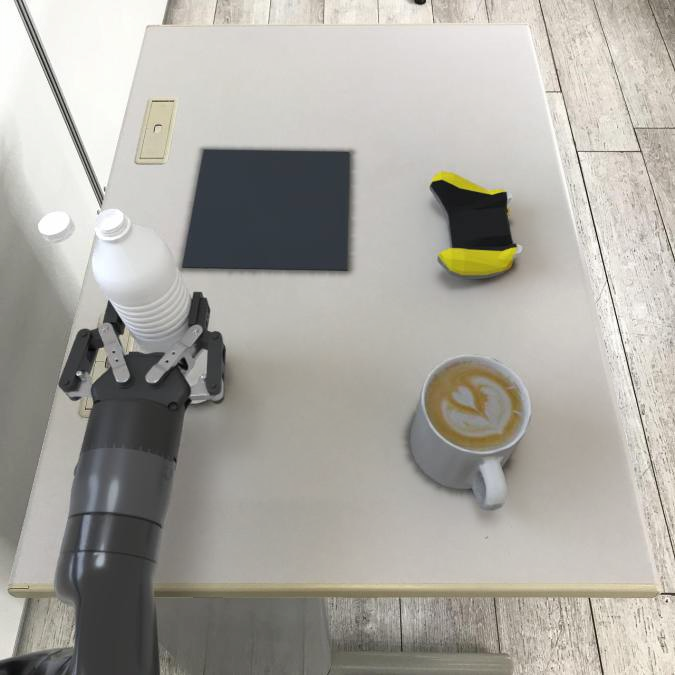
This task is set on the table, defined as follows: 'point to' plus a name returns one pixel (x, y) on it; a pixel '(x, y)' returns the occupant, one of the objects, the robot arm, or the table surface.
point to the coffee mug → (470, 425)
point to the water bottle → (136, 281)
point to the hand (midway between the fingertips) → (162, 296)
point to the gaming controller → (474, 228)
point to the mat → (270, 211)
